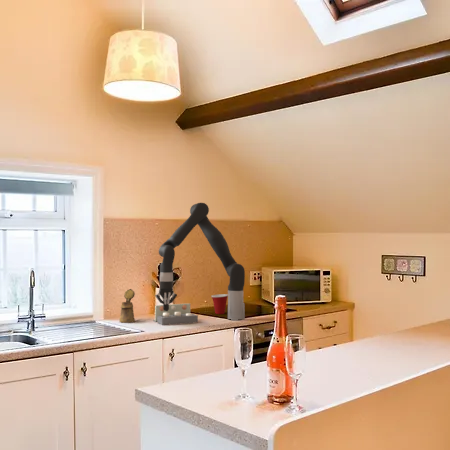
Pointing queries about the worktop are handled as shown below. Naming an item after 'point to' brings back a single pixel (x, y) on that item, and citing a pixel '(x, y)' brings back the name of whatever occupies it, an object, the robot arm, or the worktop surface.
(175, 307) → the pattern card
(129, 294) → the brown tapered piece
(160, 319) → the button board
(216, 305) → the plastic cup
